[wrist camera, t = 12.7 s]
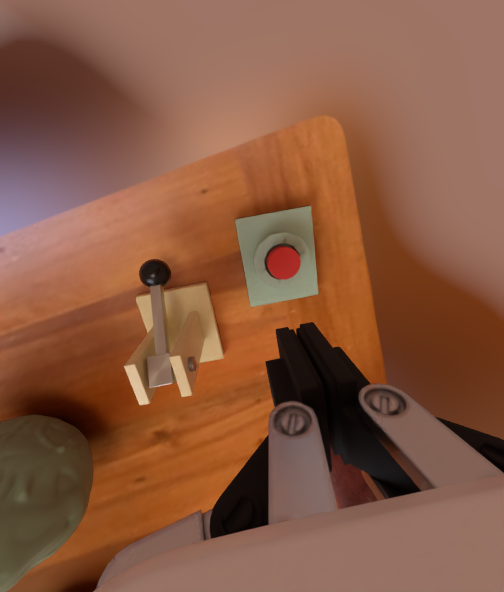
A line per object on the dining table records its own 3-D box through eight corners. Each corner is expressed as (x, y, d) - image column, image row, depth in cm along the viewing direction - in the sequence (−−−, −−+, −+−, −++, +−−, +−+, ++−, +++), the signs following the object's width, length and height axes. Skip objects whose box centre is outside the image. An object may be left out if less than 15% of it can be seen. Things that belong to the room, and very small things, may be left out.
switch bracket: (138, 294, 31) (85, 337, 20) (207, 281, 31) (193, 316, 20) (162, 365, 34) (129, 436, 23) (224, 353, 35) (220, 418, 23)
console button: (264, 248, 27) (266, 250, 26) (294, 243, 27) (299, 244, 26) (268, 278, 29) (271, 282, 27) (298, 273, 29) (302, 276, 27)
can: (354, 423, 41) (414, 521, 28) (327, 445, 42) (371, 550, 29) (331, 404, 39) (383, 500, 26) (304, 428, 40) (339, 532, 27)
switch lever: (146, 268, 28) (132, 257, 25) (173, 263, 28) (163, 251, 25) (156, 385, 24) (141, 389, 21) (187, 379, 25) (176, 382, 21)
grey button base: (234, 219, 29) (235, 219, 26) (306, 206, 29) (316, 204, 26) (249, 302, 33) (252, 312, 29) (314, 290, 33) (323, 298, 29)
